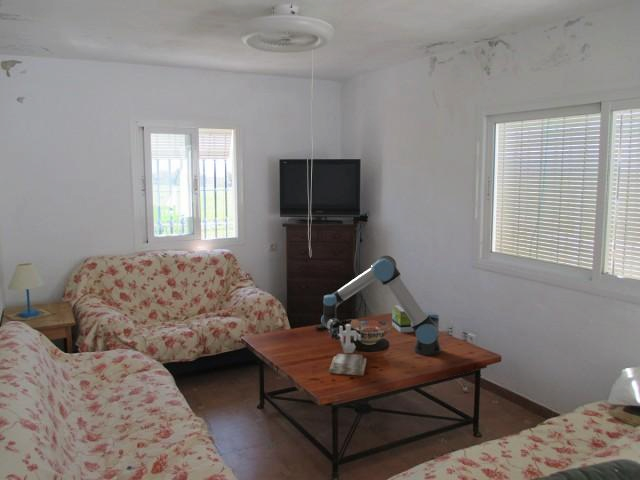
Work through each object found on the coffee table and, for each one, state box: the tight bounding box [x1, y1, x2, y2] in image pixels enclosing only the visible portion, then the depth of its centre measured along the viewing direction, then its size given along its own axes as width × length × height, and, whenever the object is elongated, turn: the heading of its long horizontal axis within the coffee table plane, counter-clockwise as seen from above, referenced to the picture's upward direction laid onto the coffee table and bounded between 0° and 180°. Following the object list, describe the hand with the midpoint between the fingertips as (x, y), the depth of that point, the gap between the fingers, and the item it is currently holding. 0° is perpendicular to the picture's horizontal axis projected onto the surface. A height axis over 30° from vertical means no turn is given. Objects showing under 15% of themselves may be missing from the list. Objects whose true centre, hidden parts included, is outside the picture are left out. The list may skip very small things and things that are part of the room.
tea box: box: [391, 304, 415, 334], centre depth 344 cm, size 15×10×15 cm, turn 14°
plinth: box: [328, 353, 367, 376], centre depth 279 cm, size 18×18×5 cm
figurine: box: [339, 323, 358, 354], centre depth 277 cm, size 7×9×15 cm
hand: (351, 339), depth 272 cm, fingers closed on figurine, 9 cm apart
